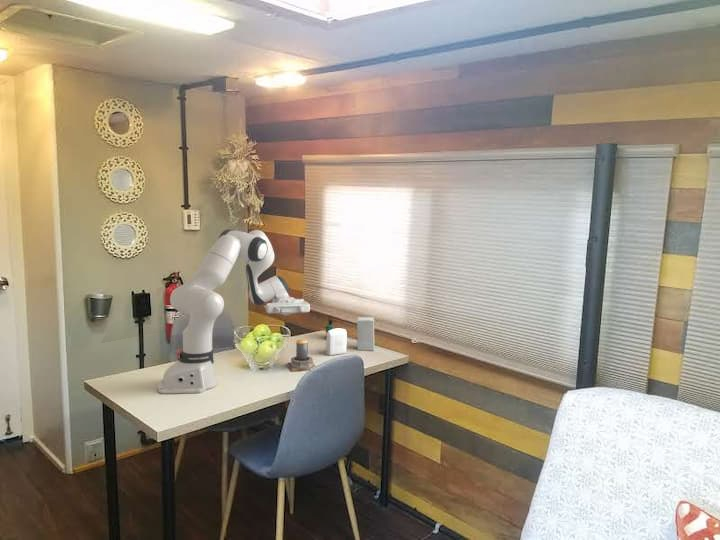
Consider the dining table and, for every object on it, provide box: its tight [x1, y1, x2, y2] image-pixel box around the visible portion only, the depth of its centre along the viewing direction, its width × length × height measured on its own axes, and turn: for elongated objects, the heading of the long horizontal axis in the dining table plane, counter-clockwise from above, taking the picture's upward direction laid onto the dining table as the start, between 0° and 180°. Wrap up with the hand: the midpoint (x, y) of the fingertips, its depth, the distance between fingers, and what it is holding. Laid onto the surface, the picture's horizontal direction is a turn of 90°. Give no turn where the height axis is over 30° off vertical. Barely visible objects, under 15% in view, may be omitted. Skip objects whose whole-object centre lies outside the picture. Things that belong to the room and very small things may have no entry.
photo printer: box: [325, 327, 348, 356], centre depth 261 cm, size 10×4×12 cm, turn 123°
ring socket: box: [286, 355, 316, 373], centre depth 240 cm, size 11×11×4 cm
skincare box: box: [356, 316, 376, 351], centre depth 269 cm, size 8×7×16 cm
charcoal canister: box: [295, 339, 309, 361], centre depth 240 cm, size 5×5×11 cm
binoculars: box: [324, 317, 335, 340], centre depth 288 cm, size 9×11×10 cm
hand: (290, 311), depth 245 cm, fingers open, 8 cm apart
